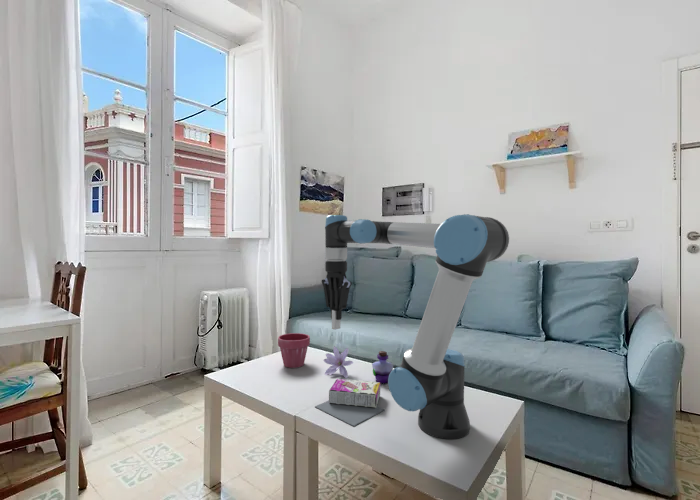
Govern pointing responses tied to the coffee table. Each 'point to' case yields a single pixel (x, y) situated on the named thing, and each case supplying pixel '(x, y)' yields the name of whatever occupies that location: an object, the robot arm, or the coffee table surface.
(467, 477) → the coffee table surface
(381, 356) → the potion bottle
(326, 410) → the mat
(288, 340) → the plant pot
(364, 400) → the candy bar box
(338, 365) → the water lily
